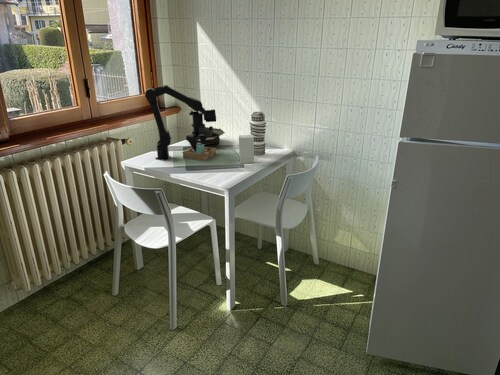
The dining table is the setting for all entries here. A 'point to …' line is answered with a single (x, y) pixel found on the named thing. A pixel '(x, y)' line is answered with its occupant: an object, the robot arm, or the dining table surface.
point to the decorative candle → (258, 133)
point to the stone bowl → (212, 137)
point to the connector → (199, 148)
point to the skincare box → (246, 148)
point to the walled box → (198, 156)
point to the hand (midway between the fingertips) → (199, 149)
